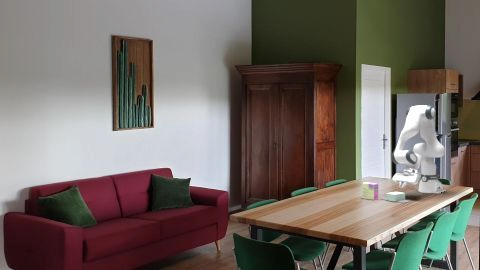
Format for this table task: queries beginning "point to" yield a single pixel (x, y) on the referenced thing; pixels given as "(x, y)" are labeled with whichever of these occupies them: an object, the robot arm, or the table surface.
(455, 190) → the table surface
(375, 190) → the box
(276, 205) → the table surface
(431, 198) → the table surface
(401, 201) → the mat
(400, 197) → the block
